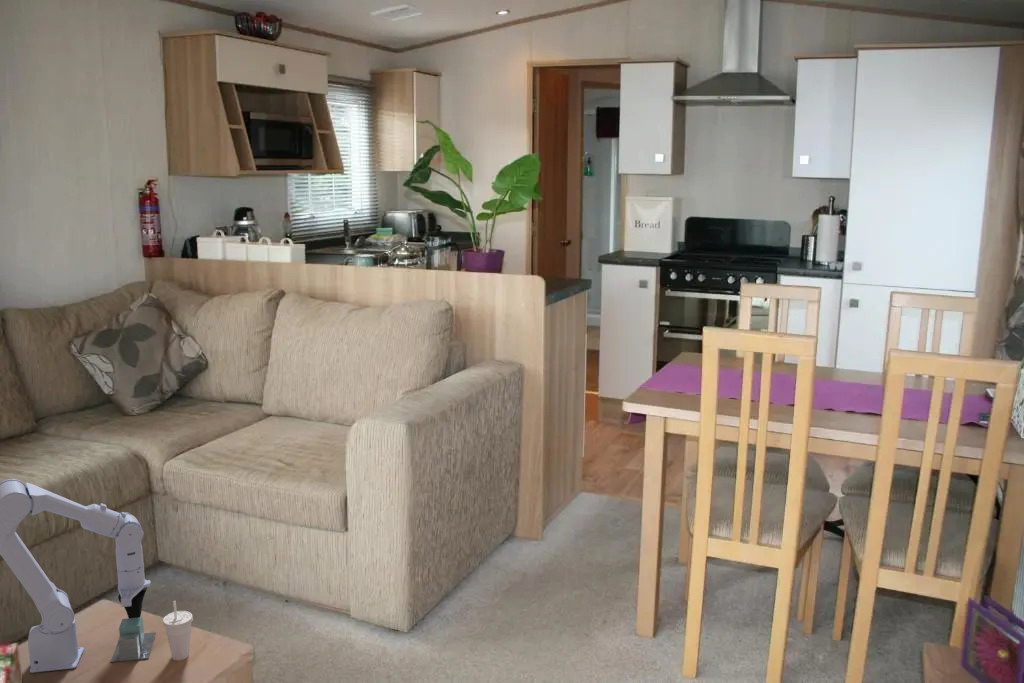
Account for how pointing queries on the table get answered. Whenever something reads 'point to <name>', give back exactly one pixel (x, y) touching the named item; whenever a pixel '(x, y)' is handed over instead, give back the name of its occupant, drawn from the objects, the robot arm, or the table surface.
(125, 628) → the teal block on rod
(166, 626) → the smoothie
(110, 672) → the table surface
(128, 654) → the grey metal stand
